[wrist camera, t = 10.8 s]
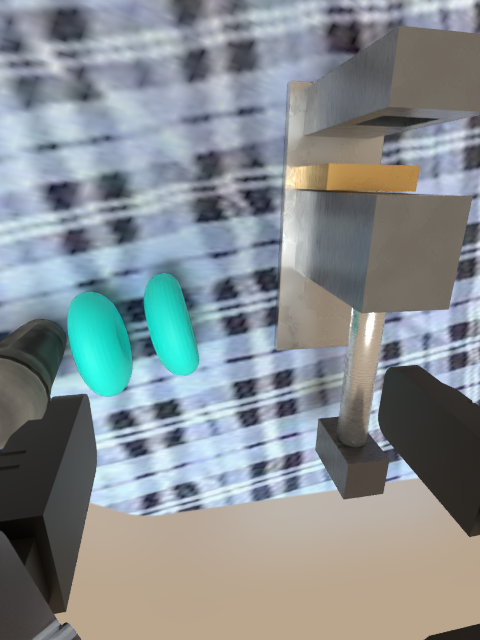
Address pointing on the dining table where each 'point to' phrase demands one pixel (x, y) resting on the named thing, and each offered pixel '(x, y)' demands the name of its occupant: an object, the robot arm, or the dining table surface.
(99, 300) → the donuts
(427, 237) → the pillow blocks
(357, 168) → the spacer
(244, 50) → the dining table surface
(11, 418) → the beverage cup
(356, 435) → the shaft
